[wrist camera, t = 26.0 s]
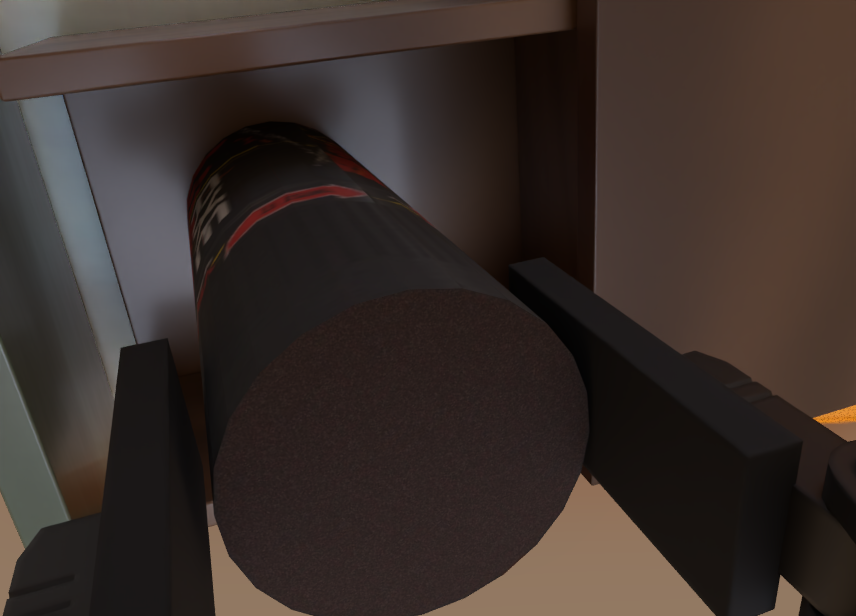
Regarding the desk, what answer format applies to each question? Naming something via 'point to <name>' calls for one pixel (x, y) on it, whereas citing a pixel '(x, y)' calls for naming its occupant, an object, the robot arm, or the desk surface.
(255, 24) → the drawer
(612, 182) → the cabinet
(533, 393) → the deodorant
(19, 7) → the desk surface
